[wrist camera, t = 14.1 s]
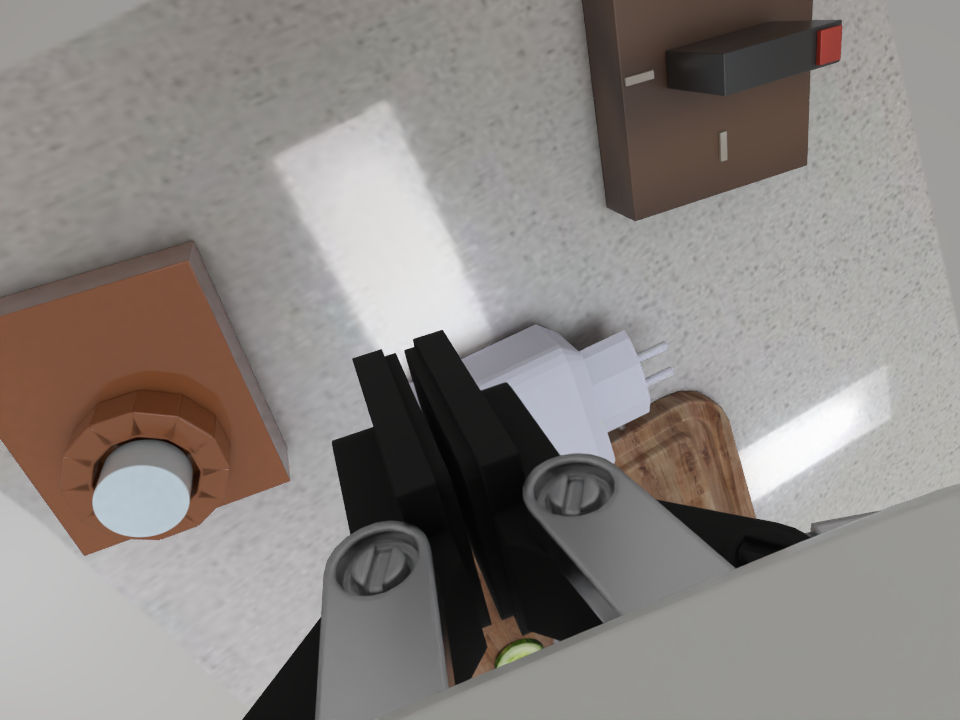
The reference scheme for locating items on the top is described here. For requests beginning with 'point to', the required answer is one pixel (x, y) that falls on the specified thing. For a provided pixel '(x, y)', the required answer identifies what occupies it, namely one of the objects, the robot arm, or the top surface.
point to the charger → (570, 384)
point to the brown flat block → (686, 105)
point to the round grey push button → (143, 488)
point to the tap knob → (754, 56)
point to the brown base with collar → (132, 387)
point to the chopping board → (652, 487)
